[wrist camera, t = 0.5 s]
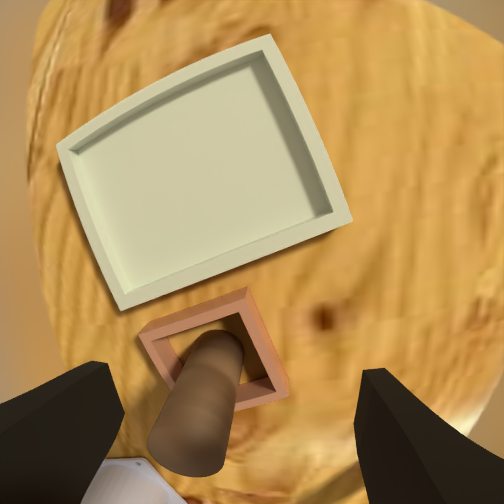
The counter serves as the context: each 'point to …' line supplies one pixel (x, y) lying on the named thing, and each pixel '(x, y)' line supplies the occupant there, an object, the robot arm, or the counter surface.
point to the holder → (207, 312)
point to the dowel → (200, 408)
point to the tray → (201, 174)
